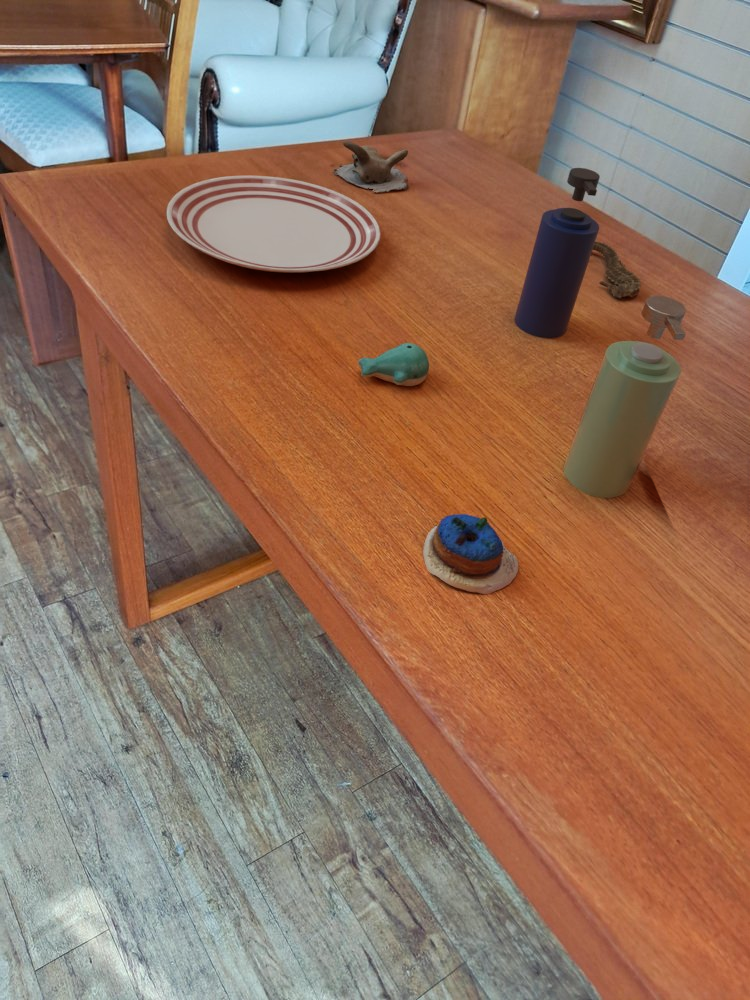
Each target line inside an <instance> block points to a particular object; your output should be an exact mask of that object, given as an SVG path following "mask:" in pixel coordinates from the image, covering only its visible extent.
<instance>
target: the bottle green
mask: <svg viewBox="0 0 750 1000" xmlns="http://www.w3.org/2000/svg"><path fill="white" fill-rule="evenodd" d="M681 369H682V368H681V366H680V364H679V362H678V361H677V359H675V357H674V356H673V355H671V354H670V353H668V352H667V351H666V350H664V349H663V348H661V347H659V346H657V345H655V344H653V343H649V342H645V341H640V340H620V341H616V342H613V343H611V344H610V345H609V346H608V347H607V348H606V350H605V352H604V355H603V358H602V360H601V363H600V366H599V370H598V372H597V373H596V377H595V380H594V382H593V385H592V388H591V390H590V392H589V393H590V394H589V395H588V399H587V401H586V404H585V407H584V409H583V412H582V414H581V418H580V420H579V423H578V426H577V428H576V431H575V434H574V436H573V438H572V441H571V444H570V447H569V450H568V453H567V455H566V458H565V460H564V463H563V466H562V467H563V468H562V469H563V474H564V477H565V478H566V480H567V481H568V482H569V483H570V484H571V485H572V486H573V487H574V488H576V489H577V490H578V491H580V492H582V493H584V494H586V495H589V496H592V497H595V498H600V499H614V498H619V497H621V496H623V495H624V494H626V493H627V492H628V490H629V489H630V486H631V484H632V482H633V480H634V477H635V475H636V472H637V471H638V468H639V466H640V464H641V462H642V460H643V458H644V455H645V453H646V451H647V450H648V447H649V445H650V442H651V440H652V438H653V436H654V433H655V431H656V429H657V427H658V424H659V422H660V420H661V418H662V416H663V414H664V411H665V410H666V407H667V404H668V403H669V400H670V398H671V396H672V393H673V392H674V389H675V387H676V385H677V383H678V380H679V378H680V376H681V374H682V373H681V372H682V370H681Z"/></svg>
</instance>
